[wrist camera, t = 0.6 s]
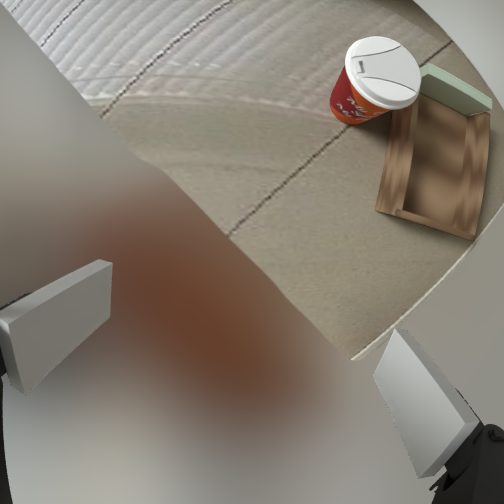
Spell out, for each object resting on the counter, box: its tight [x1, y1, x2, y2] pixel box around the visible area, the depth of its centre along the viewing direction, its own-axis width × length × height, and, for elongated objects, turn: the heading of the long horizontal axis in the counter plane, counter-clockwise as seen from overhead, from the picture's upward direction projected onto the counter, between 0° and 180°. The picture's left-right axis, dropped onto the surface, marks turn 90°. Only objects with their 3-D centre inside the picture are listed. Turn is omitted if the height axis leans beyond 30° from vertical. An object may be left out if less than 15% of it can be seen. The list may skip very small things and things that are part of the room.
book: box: [419, 63, 492, 116], centre depth 27 cm, size 2×11×8 cm, turn 78°
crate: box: [375, 93, 490, 241], centre depth 30 cm, size 18×13×6 cm
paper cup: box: [330, 36, 422, 124], centre depth 26 cm, size 8×8×14 cm
